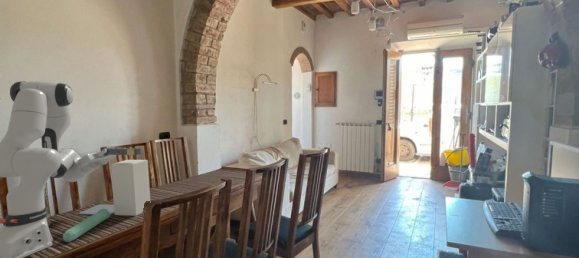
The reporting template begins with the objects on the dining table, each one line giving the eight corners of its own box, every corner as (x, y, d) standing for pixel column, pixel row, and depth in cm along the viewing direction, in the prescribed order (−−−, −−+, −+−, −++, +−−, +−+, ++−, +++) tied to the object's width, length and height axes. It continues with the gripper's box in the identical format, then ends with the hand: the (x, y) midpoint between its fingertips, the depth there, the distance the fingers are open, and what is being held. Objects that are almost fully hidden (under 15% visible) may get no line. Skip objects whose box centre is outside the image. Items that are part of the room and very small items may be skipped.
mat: (109, 215, 151) (109, 214, 151) (78, 214, 153) (78, 213, 153) (128, 206, 165) (128, 205, 165) (99, 205, 167) (99, 204, 167)
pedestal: (136, 215, 150) (132, 164, 148) (114, 214, 151) (110, 164, 149) (150, 207, 162) (147, 159, 159) (130, 206, 163) (127, 159, 161)
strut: (136, 155, 151) (135, 149, 151) (100, 154, 154) (100, 149, 154) (141, 153, 155) (140, 148, 155) (106, 153, 158) (106, 148, 158)
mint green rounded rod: (69, 228, 121) (106, 206, 145) (56, 234, 121) (95, 211, 146) (76, 241, 121) (112, 217, 146) (63, 247, 121) (101, 222, 146)
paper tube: (27, 229, 136) (22, 174, 134) (44, 223, 143) (39, 171, 141) (38, 230, 134) (32, 175, 132) (54, 224, 140) (49, 172, 138)
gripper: (70, 161, 148) (90, 147, 145) (101, 154, 168) (120, 142, 166) (76, 172, 148) (97, 158, 145) (107, 164, 168) (126, 151, 165)
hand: (109, 149), depth 156 cm, fingers closed on strut, 3 cm apart
